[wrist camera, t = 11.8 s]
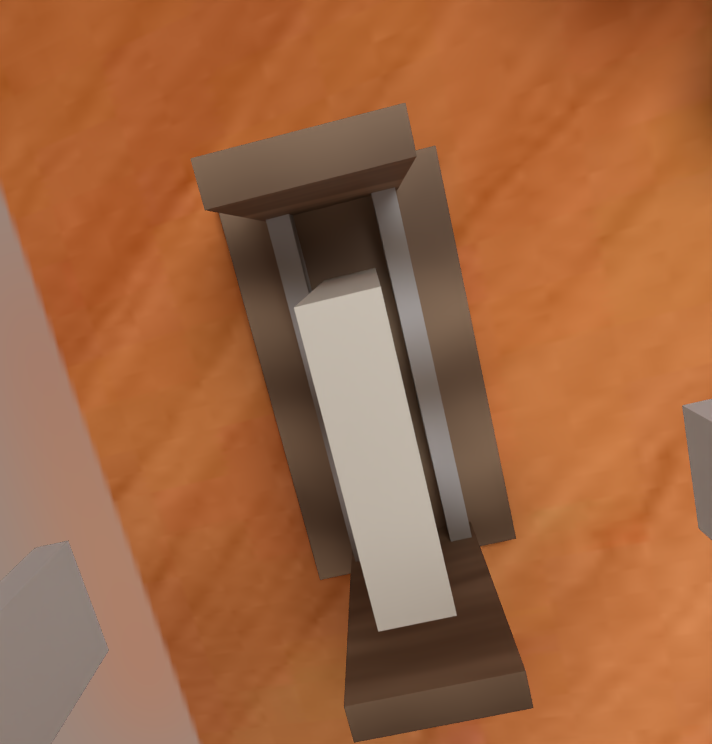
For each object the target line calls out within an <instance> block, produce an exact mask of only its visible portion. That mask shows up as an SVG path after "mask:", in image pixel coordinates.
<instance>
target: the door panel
mask: <svg viewBox="0 0 712 744" xmlns="http://www.w3.org/2000/svg"><path fill="white" fill-rule="evenodd" d="M294 310H295V314H296V318H297V322H298V326H299V329H300V333H301V337H302V341H303V345H304V349H305V352H306V356H307V360H308V364H309V368H310V372H311V375H312V379H313V383H314V387H315V391H316V395H317V398H318V402H319V406H320V410H321V414H322V418H323V421H324V425H325V429H326V433H327V437H328V441H329V444H330V448H331V452H332V456H333V460H334V464H335V467H336V471H337V475H338V479H339V483H340V487H341V490H342V494H343V498H344V502H345V506H346V510H347V514H348V517H349V521H350V525H351V529H352V533H353V537H354V540H355V544H356V548H357V552H358V556H359V560H360V563H361V567H362V571H363V575H364V579H365V583H366V586H367V590H368V594H369V598H370V602H371V606H372V609H373V613H374V617H375V621H376V625H377V629H378V632H379V631H384V630H389V629H394V628H399V627H404V626H409V625H413V624H418V623H423V622H428V621H433V620H438V619H443V618H448V617H453V616H457V614H456V610H455V605H454V601H453V597H452V592H451V588H450V584H449V579H448V575H447V571H446V566H445V562H444V558H443V553H442V549H441V545H440V541H439V536H438V532H437V528H436V523H435V519H434V515H433V510H432V506H431V502H430V497H429V493H428V489H427V484H426V480H425V476H424V471H423V467H422V463H421V458H420V454H419V450H418V446H417V441H416V437H415V433H414V428H413V424H412V420H411V415H410V411H409V407H408V402H407V398H406V394H405V389H404V385H403V381H402V376H401V372H400V368H399V363H398V359H397V355H396V351H395V346H394V342H393V338H392V333H391V329H390V325H389V320H388V316H387V312H386V307H385V303H384V299H383V294H382V290H381V286H380V282H379V279H378V275H377V272H376V268H373V269H369V270H365V271H361V272H357V273H353V274H348V275H344V276H340V277H336V278H332V279H328V280H324V281H323V282H322V283H321V284H320V285H318V286H317V287H316V288H315V289H314V290H313V291H312V292H311V293H309V294H308V295H307V296H306V297H305V298H304V299H303V300H302V301H301V302H299V303H298V304H297V305H296V306H295V307H294Z"/></svg>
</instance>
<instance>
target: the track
mask: <svg viewBox="0 0 712 744" xmlns="http://www.w3.org/2000/svg"><path fill="white" fill-rule="evenodd" d="M191 162H192V166H193V169H194V173H195V177H196V180H197V184H198V187H199V191H200V194H201V198H202V202H203V205H204V209H205V210H207V211H213V212H218V213H219V215H220V219H221V222H222V226H223V230H224V233H225V237H226V240H227V244H228V248H229V251H230V255H231V259H232V262H233V266H234V269H235V273H236V277H237V280H238V284H239V288H240V291H241V295H242V298H243V302H244V306H245V309H246V313H247V316H248V320H249V324H250V327H251V331H252V335H253V338H254V342H255V345H256V349H257V353H258V356H259V360H260V364H261V367H262V371H263V374H264V378H265V382H266V385H267V389H268V393H269V396H270V400H271V403H272V407H273V411H274V414H275V418H276V422H277V425H278V429H279V432H280V436H281V440H282V443H283V447H284V450H285V454H286V458H287V461H288V465H289V469H290V472H291V476H292V479H293V483H294V487H295V490H296V494H297V498H298V501H299V505H300V508H301V512H302V516H303V519H304V523H305V527H306V530H307V534H308V537H309V541H310V545H311V548H312V552H313V556H314V559H315V563H316V566H317V570H318V574H319V577H320V580H322V579H327V578H331V577H336V576H341V575H346V574H350V573H351V580H350V599H349V619H348V638H347V658H346V678H345V697H344V708H345V712H346V716H347V719H348V723H349V726H350V730H351V733H352V737H353V741H354V743H355V742H360V741H365V740H370V739H375V738H380V737H386V736H391V735H396V734H401V733H406V732H412V731H417V730H422V729H427V728H432V727H437V726H443V725H448V724H453V723H458V722H463V721H469V720H474V719H479V718H484V717H489V716H495V715H500V714H505V713H510V712H515V711H520V710H526V709H531V708H533V704H532V699H531V694H530V689H529V685H528V680H527V675H526V671H525V668H524V665H523V663H522V660H521V657H520V654H519V652H518V649H517V646H516V644H515V641H514V638H513V635H512V633H511V630H510V627H509V624H508V622H507V619H506V616H505V614H504V611H503V608H502V605H501V603H500V600H499V597H498V595H497V592H496V589H495V586H494V584H493V581H492V578H491V575H490V573H489V570H488V567H487V565H486V562H485V559H484V556H483V554H482V551H481V548H480V546H483V545H488V544H492V543H497V542H502V541H507V540H511V539H516V536H515V531H514V526H513V521H512V516H511V512H510V507H509V502H508V497H507V492H506V487H505V482H504V477H503V473H502V468H501V463H500V458H499V453H498V448H497V443H496V438H495V434H494V429H493V424H492V419H491V414H490V409H489V404H488V399H487V395H486V390H485V385H484V380H483V375H482V370H481V365H480V360H479V356H478V351H477V346H476V341H475V336H474V331H473V326H472V321H471V317H470V312H469V307H468V302H467V297H466V292H465V287H464V282H463V278H462V273H461V268H460V263H459V258H458V253H457V248H456V244H455V239H454V234H453V229H452V224H451V219H450V214H449V209H448V205H447V200H446V195H445V190H444V185H443V180H442V175H441V170H440V166H439V161H438V156H437V151H436V146H432V147H428V148H424V149H420V150H416V151H415V146H414V141H413V136H412V132H411V127H410V122H409V118H408V113H407V108H406V103H402V104H399V105H395V106H391V107H387V108H383V109H379V110H376V111H372V112H368V113H364V114H360V115H356V116H352V117H349V118H345V119H341V120H337V121H333V122H329V123H325V124H322V125H318V126H314V127H310V128H306V129H302V130H298V131H295V132H291V133H287V134H283V135H279V136H275V137H272V138H268V139H264V140H260V141H256V142H252V143H248V144H245V145H241V146H237V147H233V148H229V149H225V150H221V151H218V152H214V153H210V154H206V155H202V156H198V157H195V158H191ZM373 268H376V272H377V275H378V279H379V282H380V286H381V290H382V294H383V299H384V303H385V307H386V312H387V316H388V320H389V325H390V329H391V333H392V338H393V342H394V346H395V351H396V355H397V359H398V363H399V368H400V372H401V376H402V381H403V385H404V389H405V394H406V398H407V402H408V407H409V411H410V415H411V420H412V424H413V428H414V433H415V437H416V441H417V446H418V450H419V454H420V458H421V463H422V467H423V471H424V476H425V480H426V484H427V489H428V493H429V497H430V502H431V506H432V510H433V515H434V519H435V523H436V528H437V532H438V536H439V541H440V545H441V549H442V553H443V558H444V562H445V566H446V571H447V575H448V579H449V584H450V588H451V592H452V597H453V601H454V605H455V610H456V614H457V616H453V617H448V618H443V619H438V620H433V621H428V622H423V623H418V624H413V625H409V626H404V627H399V628H394V629H389V630H384V631H379V632H378V629H377V625H376V621H375V617H374V613H373V609H372V606H371V602H370V598H369V594H368V590H367V586H366V583H365V579H364V575H363V571H362V567H361V563H360V560H359V556H358V552H357V548H356V544H355V540H354V537H353V533H352V529H351V525H350V521H349V517H348V514H347V510H346V506H345V502H344V498H343V494H342V490H341V487H340V483H339V479H338V475H337V471H336V467H335V464H334V460H333V456H332V452H331V448H330V444H329V441H328V437H327V433H326V429H325V425H324V421H323V418H322V414H321V410H320V406H319V402H318V398H317V395H316V391H315V387H314V383H313V379H312V375H311V372H310V368H309V364H308V360H307V356H306V352H305V349H304V345H303V341H302V337H301V333H300V329H299V326H298V322H297V318H296V314H295V310H294V307H295V306H296V305H297V304H298V303H299V302H301V301H302V300H303V299H304V298H305V297H306V296H307V295H308V294H309V293H311V292H312V291H313V290H314V289H315V288H316V287H317V286H318V285H320V284H321V283H322V282H323V281H324V280H328V279H332V278H336V277H340V276H344V275H348V274H353V273H357V272H361V271H365V270H369V269H373Z"/></svg>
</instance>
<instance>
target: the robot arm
mask: <svg viewBox="0 0 712 744" xmlns="http://www.w3.org/2000/svg"><path fill="white" fill-rule="evenodd" d="M682 407H683V415H684V422H685V430H686V437H687V445H688V452H689V460H690V467H691V475H692V482H693V490H694V497H695V505H696V512H697V519H698V527H699V529H700V530H701V531H702V532H703V533H704V534H706V535H707V536H708V537H709V538H710V539H711V540H712V399H709V400H705V401H700V402H696V403H691V404H686V405H682ZM108 650H109V649H108V647H107V644H106V642H105V639H104V636H103V633H102V630H101V628H100V625H99V623H98V620H97V617H96V614H95V612H94V609H93V606H92V604H91V601H90V598H89V596H88V593H87V590H86V587H85V585H84V582H83V579H82V577H81V574H80V572H79V569H78V566H77V563H76V560H75V558H74V555H73V552H72V550H71V547H70V544H69V542H68V541H64V542H60V543H55V544H50V545H46V546H42V547H37V548H34V549H33V550H32V551H31V552H30V553H29V554H28V555H27V556H26V557H25V558H24V559H23V560H22V561H21V562H20V563H19V564H18V565H16V566H15V567H14V568H13V569H12V570H11V571H10V572H9V573H8V574H7V575H6V576H5V577H4V578H3V579H2V580H1V581H0V744H52V742H53V740H54V739H55V737H56V735H57V734H58V732H59V730H60V729H61V727H62V726H63V724H64V722H65V720H66V719H67V717H68V716H69V714H70V713H71V711H72V709H73V708H74V706H75V704H76V703H77V701H78V700H79V698H80V696H81V695H82V693H83V691H84V690H85V688H86V687H87V685H88V683H89V682H90V680H91V678H92V677H93V675H94V673H95V672H96V670H97V669H98V667H99V665H100V664H101V662H102V660H103V659H104V657H105V656H106V654H107V652H108Z"/></svg>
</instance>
